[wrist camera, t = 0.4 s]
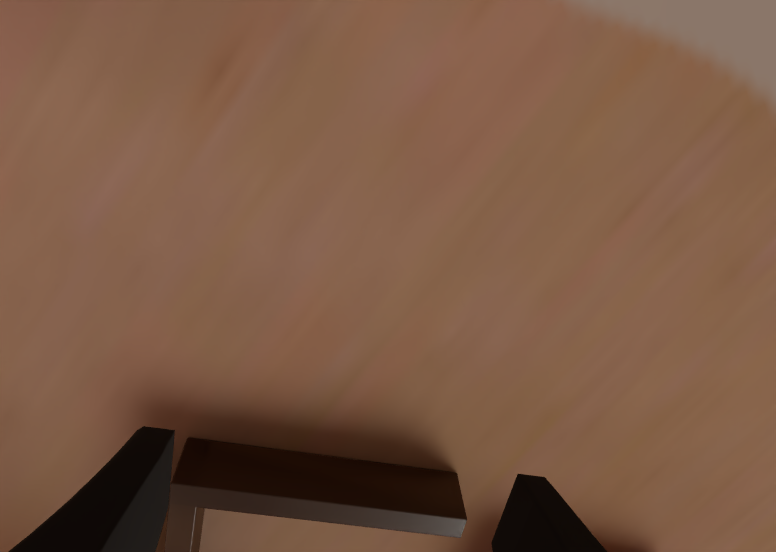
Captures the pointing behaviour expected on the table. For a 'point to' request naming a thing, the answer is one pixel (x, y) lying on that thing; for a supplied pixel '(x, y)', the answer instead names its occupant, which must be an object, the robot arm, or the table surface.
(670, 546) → the table surface
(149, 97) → the table surface
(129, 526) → the robot arm
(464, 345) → the table surface
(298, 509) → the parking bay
